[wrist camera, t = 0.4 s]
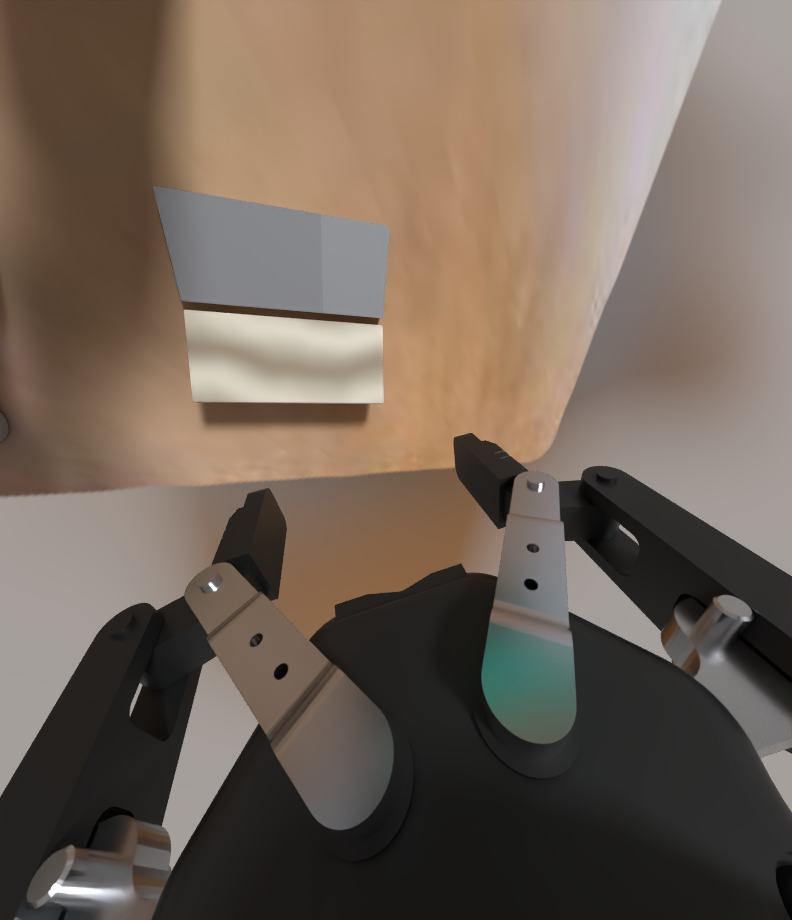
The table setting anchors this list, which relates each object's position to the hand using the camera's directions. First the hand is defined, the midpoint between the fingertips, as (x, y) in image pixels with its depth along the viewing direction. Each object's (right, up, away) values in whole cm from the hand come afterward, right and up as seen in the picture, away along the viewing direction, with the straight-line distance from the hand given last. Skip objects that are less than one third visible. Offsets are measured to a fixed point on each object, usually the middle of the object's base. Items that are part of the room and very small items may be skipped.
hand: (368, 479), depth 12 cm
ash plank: (-9, +11, +17) cm, 23 cm away
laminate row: (-9, +19, +14) cm, 25 cm away
